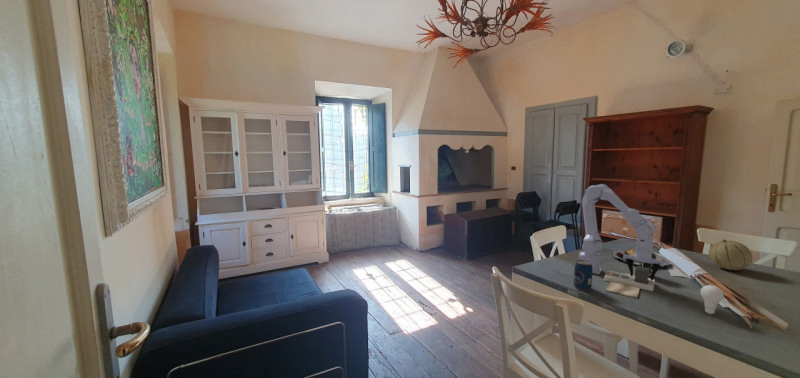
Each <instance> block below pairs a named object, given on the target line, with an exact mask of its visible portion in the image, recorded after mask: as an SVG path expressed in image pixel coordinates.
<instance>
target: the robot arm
mask: <svg viewBox="0 0 800 378" xmlns="http://www.w3.org/2000/svg"><path fill="white" fill-rule="evenodd" d="M584 193H585V194H584V195H583V197H582V199H581V206H582V214H583V222H584V230H585V236H584V238H583V240H582V241H583V244H582V245H581V247H582V251H579V254H578V260H585V261H589V262H591V265H592V267H593V270H592V274H595V275H600V273H602V271H603V269H602V268H601V261H602V260H601V259H602V258H601V257H602V252H601V251H603V250H604V246H605V245H604V243H603V241H602V239H601V236H600V235H599V232H598V222H597V221H598V220H597V213H596V205H595V204H596V203H597V202H598V201H599V200H603V201H608V202H609V203H610V204H612V205H613V206H614V207H615V208H616V209H617V210H619V211H620V212H621V213H622V218H623V219H624V220H626V222H628V223H629V224H630V225H631V226H632V227H633V228H634V229H635V230H634V231H635V232H636V234H637V235H636V245H635V246H636V247H635V251H636V255H626V254H624V255H623V259H625V260H626V259H627V260H626V262H625V264H626V265H627V267H628V270H629V272H630V273H629V274H630V275H631V276H633V275H634V264H633V263H634V261H638V262H644V263H649V264H653V265H652V266H651V272H652V276H651V277H650V279H651V280H652V281H653V279H654V277H655V275H656V274H657V272H658V271H659V269H660V268H661V267H665V266H664V261H661V260H657V259H653V258H652V254H653V248H654V247H653V245H654V233H656V231H657V227H656V225H655V223H654V222H653V221H650V220H648V218H645V217H644V216H643V215H642V214H640V210H638V209H635V208H630V207H629V206H628V205H626V203H624V201H623V200H622V199H621V198H620V197H619V196H618V195H617V194H616V193H615V192H614V190H613V189H611V188H610V187H609V186H608V185H606V184H605V183H601V184H596V185H595V184H593V185H590V186H589V187H587V189H585V192H584ZM660 265H661V266H660Z"/></svg>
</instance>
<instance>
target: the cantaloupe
mask: <svg viewBox="0 0 800 378" xmlns="http://www.w3.org/2000/svg"><path fill="white" fill-rule="evenodd" d="M709 257H710V259H711V261H712V262H713V263H714V264H715V265H716V266H718V267H719V268H722V269H723V270H728V271H729V270H730V271H741V270H744V269H747V268H748V267H749V266H750V265H751V264H752V262H753V254H752V251H751V250H750V249H749V247H747V246H746V245H744V244H743V243H741V242H739V241H735V240H726V239H722V241H718V242H716V243H714V244H713V245H712V246H711V247H710V249H709Z"/></svg>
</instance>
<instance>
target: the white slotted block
mask: <svg viewBox="0 0 800 378" xmlns="http://www.w3.org/2000/svg"><path fill="white" fill-rule="evenodd" d="M603 281H604V282H605V281H606V282H609V283H610V281H611V282H615V283H620V284H624V285H629V286H633V287H638V288H640V290H645V291H650V292H654V288H655V281H656V279H654V278H653V281H652V280H651V277H649V278H648V282H647V283H646V284H645V283H640V282H636V281H635V274H633V276H631V275H630V273H625V272H621V271H615V270H607V271H606V273H605V275H604V276H603Z"/></svg>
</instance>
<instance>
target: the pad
mask: <svg viewBox="0 0 800 378" xmlns="http://www.w3.org/2000/svg"><path fill="white" fill-rule="evenodd" d="M640 290H641V289H640V288H638V287H633V286H629V285H624V284H620V283H615V282H611V281H610V282H609V283H608V285H607V287H606V290H605V292H608V293H611V294H612V293H614V294H616V295H622V296H626V297H628V298H629V297H630V298H633V299H638V298H639V293H640Z"/></svg>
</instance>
